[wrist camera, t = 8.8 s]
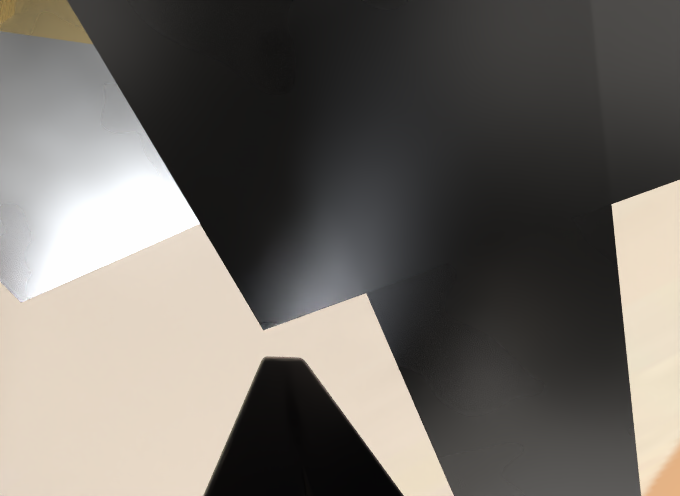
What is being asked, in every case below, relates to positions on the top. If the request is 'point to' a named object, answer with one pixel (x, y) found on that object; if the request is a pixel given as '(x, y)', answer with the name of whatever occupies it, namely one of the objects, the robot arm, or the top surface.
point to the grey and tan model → (423, 192)
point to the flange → (73, 168)
